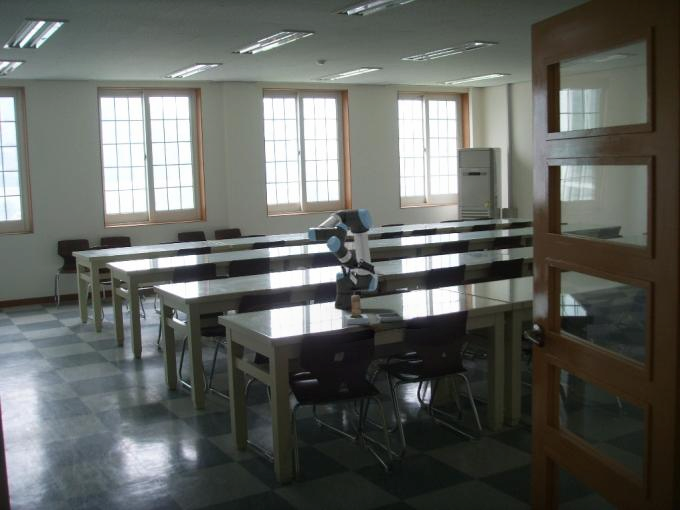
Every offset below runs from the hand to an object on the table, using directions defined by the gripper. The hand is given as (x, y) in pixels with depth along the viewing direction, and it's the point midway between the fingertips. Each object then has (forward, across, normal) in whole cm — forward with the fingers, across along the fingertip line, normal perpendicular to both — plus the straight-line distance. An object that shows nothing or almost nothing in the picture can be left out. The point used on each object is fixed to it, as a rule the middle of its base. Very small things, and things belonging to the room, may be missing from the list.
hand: (366, 279), depth 433 cm
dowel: (+9, -8, -22) cm, 25 cm away
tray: (+20, +7, -16) cm, 27 cm away
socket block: (+9, -8, -22) cm, 25 cm away
